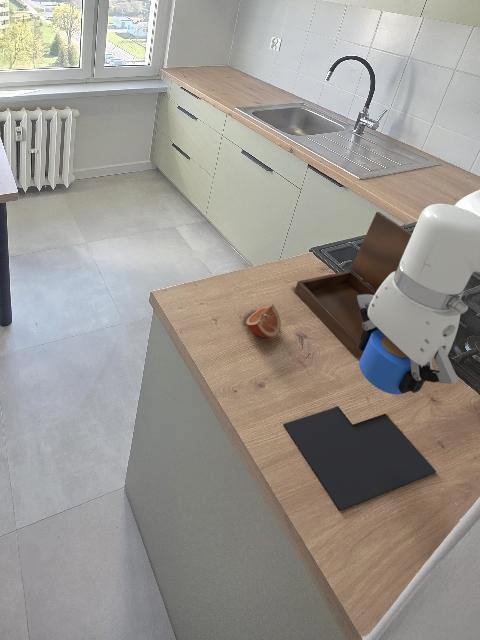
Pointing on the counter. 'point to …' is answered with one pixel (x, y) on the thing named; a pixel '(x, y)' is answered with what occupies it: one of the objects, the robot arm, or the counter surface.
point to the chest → (337, 305)
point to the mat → (357, 455)
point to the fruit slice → (265, 322)
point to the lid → (380, 250)
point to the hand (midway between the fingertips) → (386, 367)
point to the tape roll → (384, 363)
